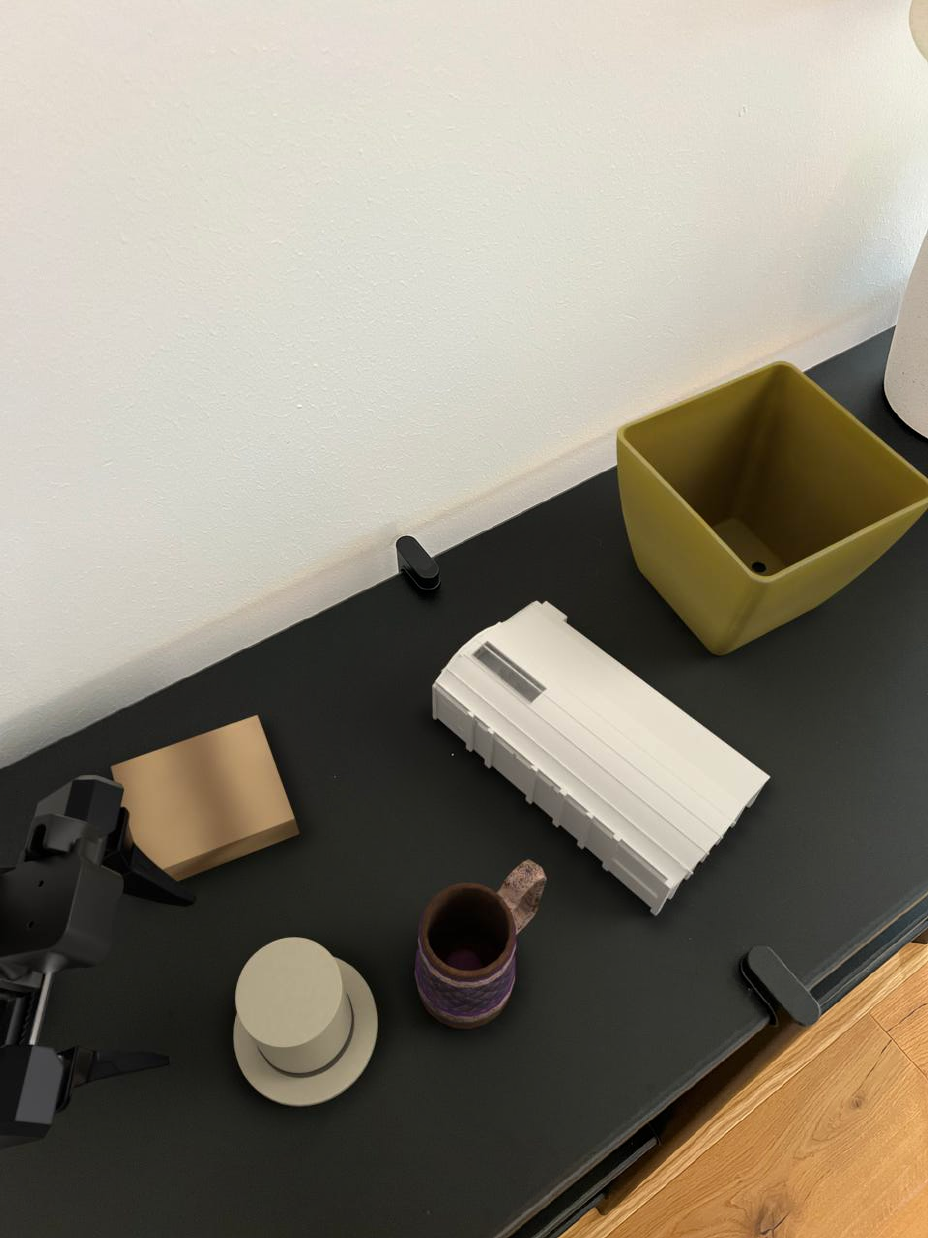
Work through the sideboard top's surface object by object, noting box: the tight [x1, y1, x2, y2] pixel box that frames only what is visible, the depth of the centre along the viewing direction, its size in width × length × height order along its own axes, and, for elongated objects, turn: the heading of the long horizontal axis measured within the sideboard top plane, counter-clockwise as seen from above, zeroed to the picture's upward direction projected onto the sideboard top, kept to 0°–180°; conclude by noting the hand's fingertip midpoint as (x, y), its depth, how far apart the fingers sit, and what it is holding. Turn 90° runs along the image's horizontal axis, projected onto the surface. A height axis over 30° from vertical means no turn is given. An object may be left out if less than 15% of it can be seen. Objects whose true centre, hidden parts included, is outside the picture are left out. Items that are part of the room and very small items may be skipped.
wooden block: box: [110, 714, 300, 882], centre depth 75 cm, size 12×10×3 cm
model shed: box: [431, 600, 771, 917], centre depth 77 cm, size 25×15×7 cm, turn 46°
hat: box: [233, 936, 379, 1107], centre depth 63 cm, size 10×10×10 cm
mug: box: [414, 858, 548, 1030], centre depth 65 cm, size 10×7×12 cm
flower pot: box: [615, 360, 928, 656], centre depth 84 cm, size 19×19×17 cm
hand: (180, 978), depth 57 cm, fingers open, 9 cm apart
